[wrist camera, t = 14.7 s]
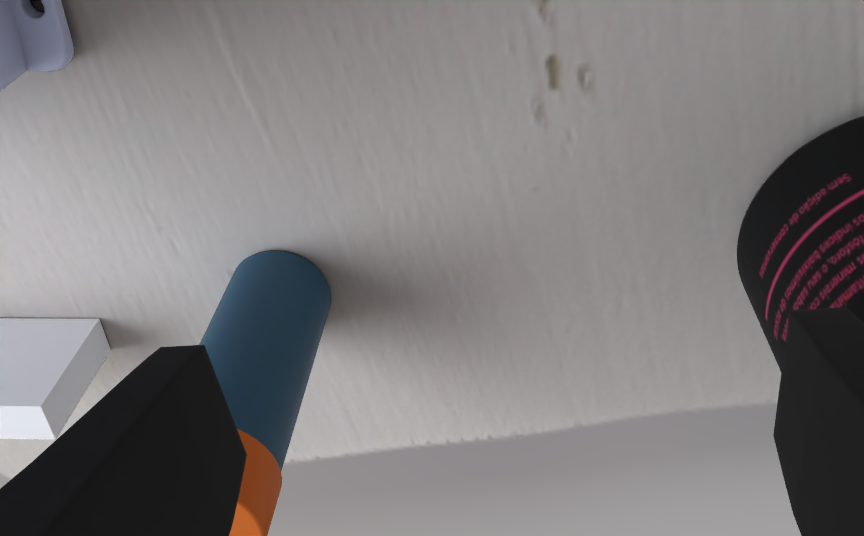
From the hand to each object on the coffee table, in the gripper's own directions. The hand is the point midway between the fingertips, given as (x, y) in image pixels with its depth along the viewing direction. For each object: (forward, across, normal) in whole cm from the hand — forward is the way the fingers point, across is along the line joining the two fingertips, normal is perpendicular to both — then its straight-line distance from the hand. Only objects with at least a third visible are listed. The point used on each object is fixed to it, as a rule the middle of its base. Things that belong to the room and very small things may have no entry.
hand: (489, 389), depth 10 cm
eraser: (+10, +15, +6) cm, 19 cm away
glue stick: (+10, +7, +6) cm, 13 cm away
